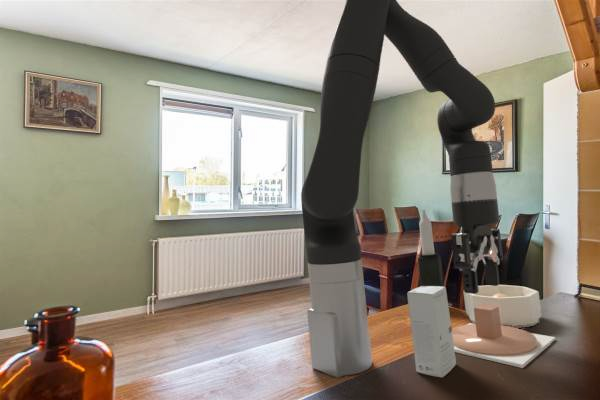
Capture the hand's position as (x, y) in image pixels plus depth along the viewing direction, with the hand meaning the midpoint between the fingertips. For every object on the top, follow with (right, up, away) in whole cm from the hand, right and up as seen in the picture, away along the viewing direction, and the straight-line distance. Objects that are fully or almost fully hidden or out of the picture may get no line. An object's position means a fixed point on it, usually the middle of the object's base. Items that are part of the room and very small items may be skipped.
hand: (482, 289), depth 63 cm
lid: (+1, -9, -1) cm, 9 cm away
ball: (+10, -6, +12) cm, 17 cm away
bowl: (+10, -10, +12) cm, 18 cm away
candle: (+1, -12, +26) cm, 29 cm away
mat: (+1, -9, -1) cm, 10 cm away
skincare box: (-12, -10, -9) cm, 18 cm away
